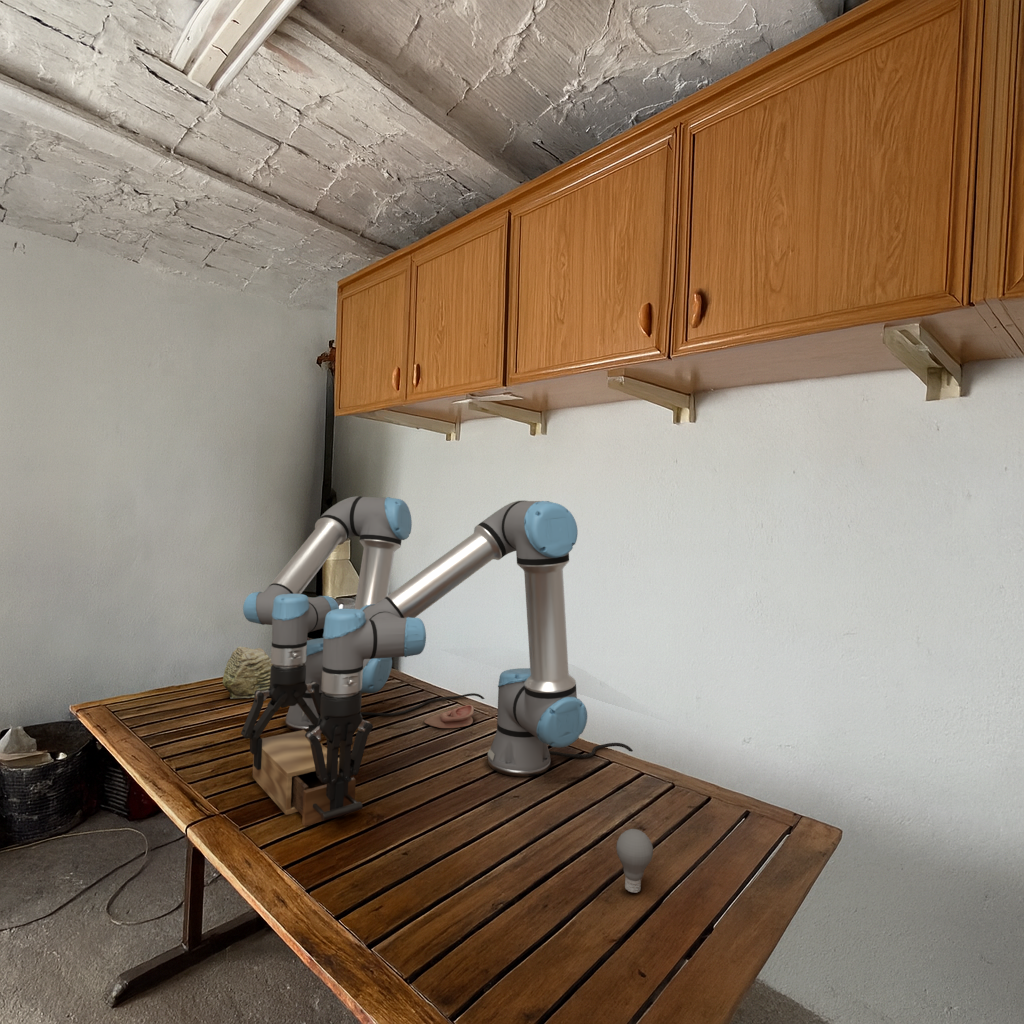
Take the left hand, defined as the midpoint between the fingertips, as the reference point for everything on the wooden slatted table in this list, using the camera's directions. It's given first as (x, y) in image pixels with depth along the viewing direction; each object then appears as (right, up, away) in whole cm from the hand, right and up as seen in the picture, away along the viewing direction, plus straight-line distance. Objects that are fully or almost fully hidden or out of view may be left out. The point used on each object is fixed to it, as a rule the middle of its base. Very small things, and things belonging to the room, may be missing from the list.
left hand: (285, 761), depth 142 cm
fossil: (-30, -1, +56) cm, 64 cm away
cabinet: (+4, -4, -5) cm, 7 cm away
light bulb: (+71, -8, -36) cm, 80 cm away
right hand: (+17, -2, -21) cm, 27 cm away
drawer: (+11, -4, -13) cm, 18 cm away
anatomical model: (+33, -4, +40) cm, 52 cm away
